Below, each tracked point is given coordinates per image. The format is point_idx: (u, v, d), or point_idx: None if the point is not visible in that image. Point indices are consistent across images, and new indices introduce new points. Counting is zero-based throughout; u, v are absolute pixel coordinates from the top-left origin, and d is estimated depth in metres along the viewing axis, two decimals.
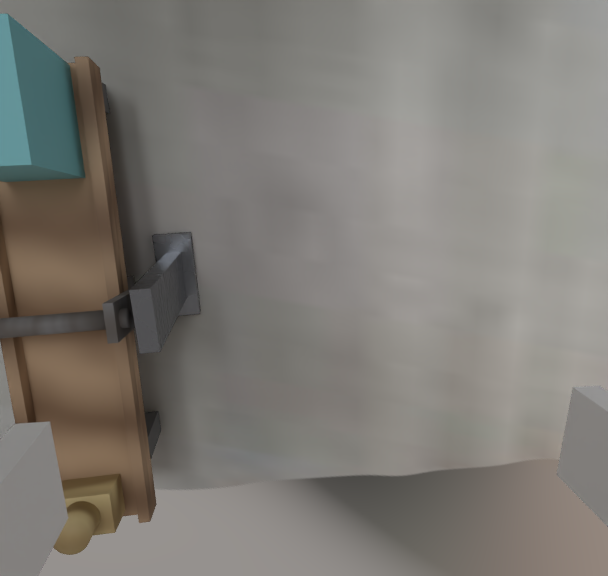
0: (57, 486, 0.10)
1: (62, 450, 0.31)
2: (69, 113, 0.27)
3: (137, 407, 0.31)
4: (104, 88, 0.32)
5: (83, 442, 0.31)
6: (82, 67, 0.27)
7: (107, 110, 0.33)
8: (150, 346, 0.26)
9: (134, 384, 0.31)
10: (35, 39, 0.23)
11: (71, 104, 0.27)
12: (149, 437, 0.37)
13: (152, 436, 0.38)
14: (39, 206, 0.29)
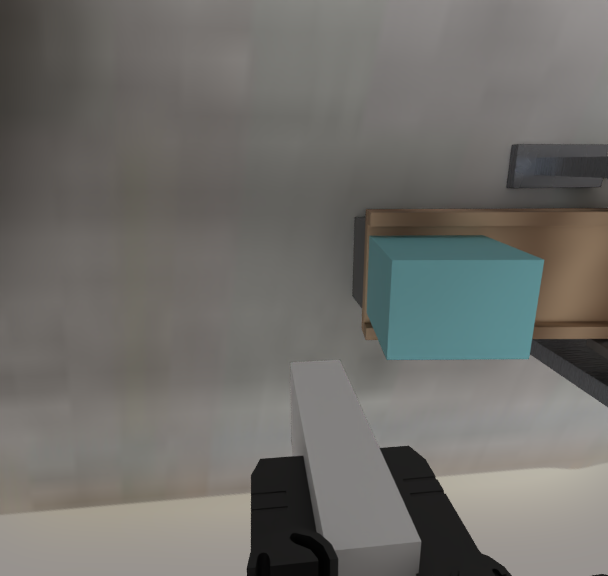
0: None
1: None
2: (426, 238, 0.25)
3: None
4: (360, 217, 0.31)
5: None
6: (381, 219, 0.25)
7: None
8: None
9: None
10: (385, 249, 0.22)
11: (413, 237, 0.26)
12: None
13: None
14: None
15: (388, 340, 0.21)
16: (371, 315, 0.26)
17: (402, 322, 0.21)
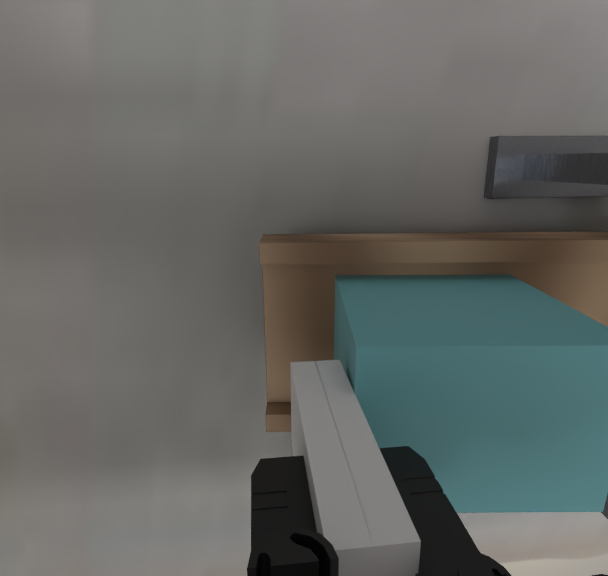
0: None
1: None
2: (422, 282, 0.16)
3: None
4: None
5: None
6: (276, 253, 0.16)
7: None
8: None
9: None
10: (351, 311, 0.13)
11: (402, 279, 0.17)
12: None
13: None
14: None
15: None
16: None
17: None
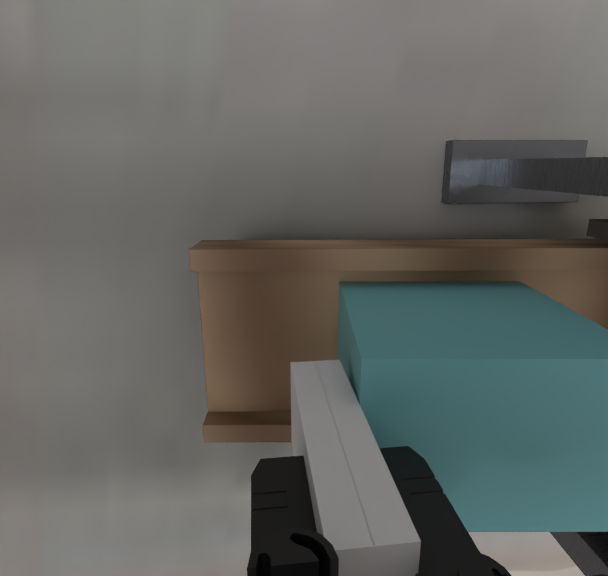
0: None
1: None
2: (429, 289, 0.16)
3: None
4: None
5: None
6: (206, 260, 0.16)
7: None
8: None
9: None
10: (355, 320, 0.13)
11: (407, 285, 0.16)
12: None
13: None
14: None
15: None
16: None
17: None
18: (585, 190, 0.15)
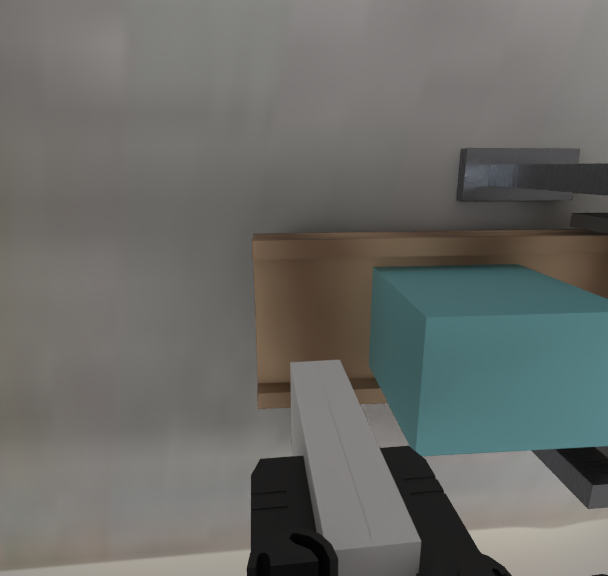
0: None
1: None
2: (450, 271, 0.19)
3: None
4: None
5: None
6: (267, 250, 0.18)
7: None
8: None
9: None
10: (405, 293, 0.16)
11: (431, 268, 0.20)
12: None
13: None
14: None
15: (418, 429, 0.14)
16: (379, 374, 0.19)
17: (438, 403, 0.14)
18: (573, 189, 0.19)
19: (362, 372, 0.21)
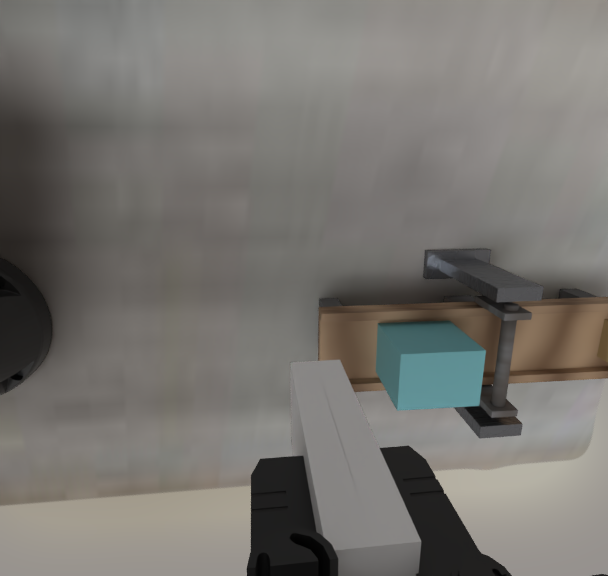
0: None
1: (576, 355, 0.44)
2: (414, 326, 0.40)
3: (560, 303, 0.42)
4: (322, 299, 0.46)
5: (574, 341, 0.43)
6: (328, 318, 0.39)
7: (337, 299, 0.46)
8: (537, 292, 0.36)
9: (544, 303, 0.41)
10: (393, 341, 0.36)
11: (406, 324, 0.40)
12: None
13: (584, 296, 0.47)
14: None
15: (398, 399, 0.35)
16: (381, 376, 0.40)
17: (406, 388, 0.35)
18: (473, 287, 0.39)
19: (372, 374, 0.42)
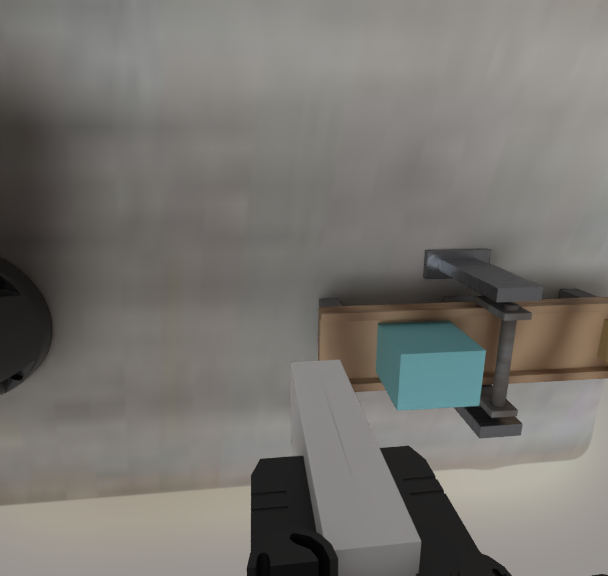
0: None
1: (576, 355, 0.44)
2: (414, 326, 0.40)
3: (560, 303, 0.42)
4: (322, 299, 0.46)
5: (574, 341, 0.43)
6: (328, 318, 0.39)
7: (337, 299, 0.46)
8: (537, 292, 0.36)
9: (544, 303, 0.41)
10: (393, 341, 0.36)
11: (406, 324, 0.40)
12: None
13: (584, 296, 0.47)
14: None
15: (398, 399, 0.35)
16: (381, 376, 0.40)
17: (406, 388, 0.35)
18: (473, 287, 0.39)
19: (372, 374, 0.42)
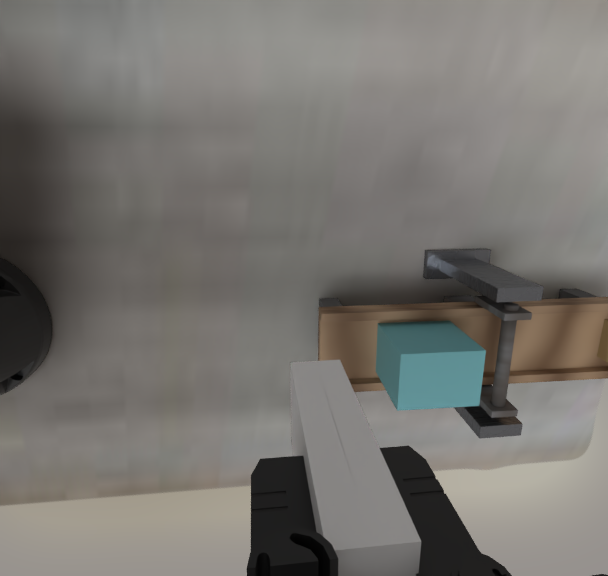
0: None
1: (576, 355, 0.44)
2: (414, 326, 0.40)
3: (560, 303, 0.42)
4: (322, 299, 0.46)
5: (574, 341, 0.43)
6: (328, 318, 0.39)
7: (337, 299, 0.46)
8: (537, 292, 0.36)
9: (544, 303, 0.41)
10: (393, 341, 0.36)
11: (406, 324, 0.40)
12: None
13: (584, 296, 0.47)
14: None
15: (398, 399, 0.35)
16: (381, 376, 0.40)
17: (406, 388, 0.35)
18: (473, 287, 0.39)
19: (372, 374, 0.42)
